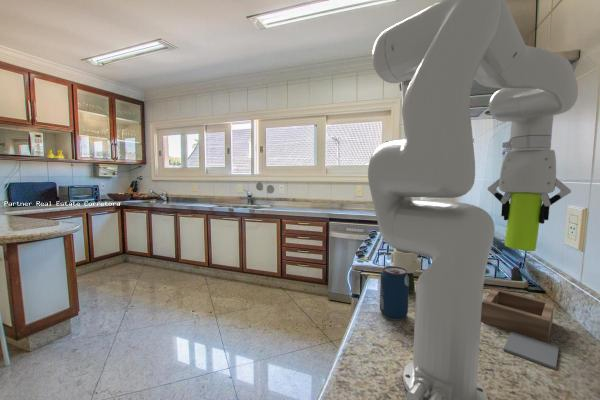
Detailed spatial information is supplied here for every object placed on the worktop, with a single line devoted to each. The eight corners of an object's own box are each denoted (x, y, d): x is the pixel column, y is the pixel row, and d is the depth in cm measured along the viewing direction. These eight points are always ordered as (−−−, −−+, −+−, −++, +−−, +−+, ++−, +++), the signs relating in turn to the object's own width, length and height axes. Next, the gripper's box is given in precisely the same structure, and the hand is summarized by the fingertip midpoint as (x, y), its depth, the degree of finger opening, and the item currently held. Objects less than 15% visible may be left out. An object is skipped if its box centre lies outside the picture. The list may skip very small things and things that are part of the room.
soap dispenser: (546, 252, 63) (559, 165, 61) (512, 249, 65) (523, 163, 63) (530, 246, 69) (542, 166, 67) (499, 243, 70) (510, 164, 69)
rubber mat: (555, 369, 52) (555, 367, 51) (503, 350, 57) (503, 348, 57) (558, 349, 58) (558, 346, 58) (511, 333, 64) (511, 331, 63)
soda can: (413, 316, 71) (415, 271, 70) (396, 324, 67) (398, 276, 66) (390, 306, 77) (392, 263, 76) (373, 313, 73) (375, 268, 72)
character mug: (426, 294, 84) (428, 252, 83) (411, 299, 81) (413, 256, 80) (397, 283, 94) (399, 245, 93) (382, 287, 90) (384, 247, 89)
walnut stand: (548, 343, 60) (549, 320, 60) (480, 321, 69) (482, 302, 68) (552, 322, 69) (554, 302, 68) (492, 305, 78) (493, 288, 77)
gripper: (482, 146, 69) (478, 218, 70) (581, 140, 56) (573, 227, 58) (489, 149, 74) (485, 216, 75) (581, 144, 62) (574, 224, 63)
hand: (523, 220), depth 66 cm, fingers closed on soap dispenser, 6 cm apart
